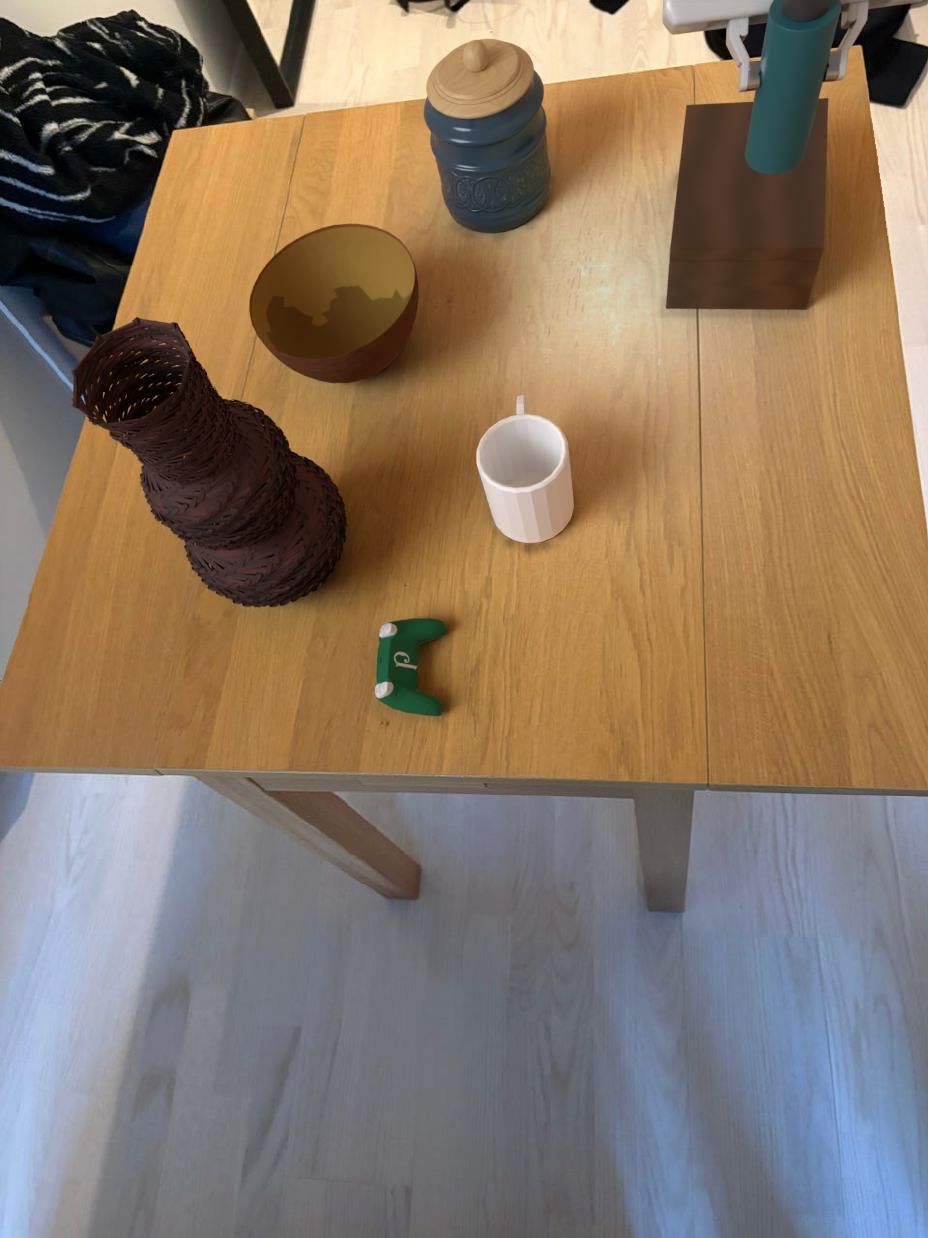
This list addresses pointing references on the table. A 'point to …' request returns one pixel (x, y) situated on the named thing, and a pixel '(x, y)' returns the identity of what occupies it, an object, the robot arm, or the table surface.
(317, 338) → the bowl
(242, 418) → the vase
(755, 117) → the bottle
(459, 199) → the canister
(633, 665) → the table surface
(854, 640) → the table surface
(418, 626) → the gaming controller
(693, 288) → the wooden box
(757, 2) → the robot arm
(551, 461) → the mug
